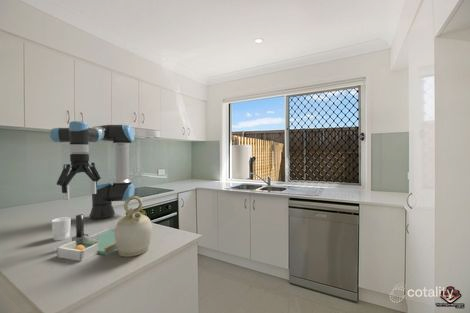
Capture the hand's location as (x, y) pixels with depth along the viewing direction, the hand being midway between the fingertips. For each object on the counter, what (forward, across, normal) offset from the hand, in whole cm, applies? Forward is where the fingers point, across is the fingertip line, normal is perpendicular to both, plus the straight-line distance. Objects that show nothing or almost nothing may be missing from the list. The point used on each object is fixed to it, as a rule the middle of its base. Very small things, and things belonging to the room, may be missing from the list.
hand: (81, 196), depth 105 cm
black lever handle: (+21, +2, +6) cm, 22 cm away
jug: (+23, 0, +31) cm, 39 cm away
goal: (+23, +10, +10) cm, 27 cm away
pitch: (+23, -5, +10) cm, 26 cm away
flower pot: (+24, -27, +8) cm, 37 cm away
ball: (+21, +10, +10) cm, 25 cm away
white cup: (+24, -2, -17) cm, 29 cm away
